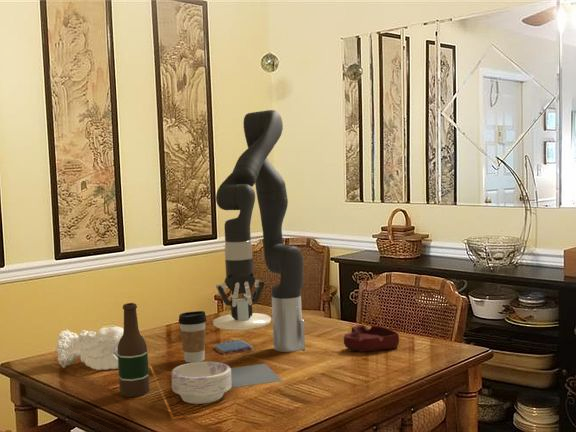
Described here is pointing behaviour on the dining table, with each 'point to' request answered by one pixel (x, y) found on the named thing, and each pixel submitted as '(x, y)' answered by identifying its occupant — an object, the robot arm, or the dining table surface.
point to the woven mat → (233, 347)
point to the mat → (252, 375)
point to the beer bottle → (132, 356)
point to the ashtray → (371, 338)
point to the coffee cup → (193, 335)
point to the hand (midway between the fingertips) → (241, 318)
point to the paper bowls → (201, 381)
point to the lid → (242, 319)
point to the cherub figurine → (90, 348)
